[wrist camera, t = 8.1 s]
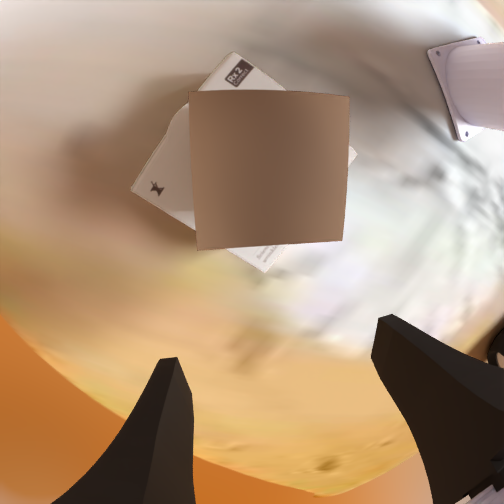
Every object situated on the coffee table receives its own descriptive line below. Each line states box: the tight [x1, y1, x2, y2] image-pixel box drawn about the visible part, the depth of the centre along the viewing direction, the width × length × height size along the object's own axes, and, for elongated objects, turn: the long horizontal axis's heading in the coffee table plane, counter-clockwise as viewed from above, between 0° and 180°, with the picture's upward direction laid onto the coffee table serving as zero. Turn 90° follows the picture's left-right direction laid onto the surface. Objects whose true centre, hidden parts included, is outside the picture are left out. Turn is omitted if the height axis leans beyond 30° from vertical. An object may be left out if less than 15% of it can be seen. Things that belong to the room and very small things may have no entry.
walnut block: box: [188, 90, 349, 251], centre depth 10 cm, size 5×5×4 cm
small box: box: [131, 52, 357, 273], centre depth 14 cm, size 8×8×5 cm
